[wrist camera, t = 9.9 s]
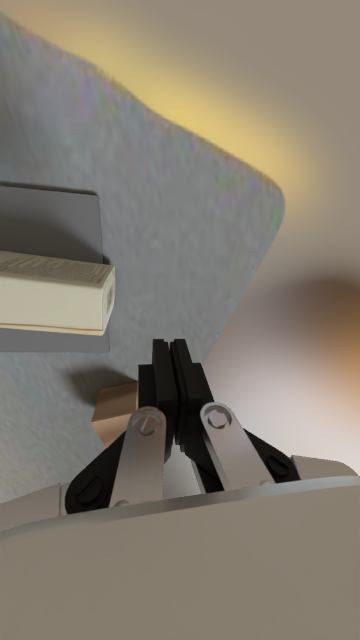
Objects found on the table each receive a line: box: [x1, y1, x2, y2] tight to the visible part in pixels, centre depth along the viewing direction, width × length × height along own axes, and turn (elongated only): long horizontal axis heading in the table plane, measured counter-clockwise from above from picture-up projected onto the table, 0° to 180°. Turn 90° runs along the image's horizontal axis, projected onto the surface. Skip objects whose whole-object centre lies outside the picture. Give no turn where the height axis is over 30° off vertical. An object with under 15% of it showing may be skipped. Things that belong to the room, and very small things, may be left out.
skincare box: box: [0, 251, 115, 336], centre depth 18 cm, size 6×4×12 cm
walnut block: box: [91, 381, 138, 448], centre depth 28 cm, size 5×5×5 cm
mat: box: [0, 186, 110, 353], centre depth 21 cm, size 16×13×1 cm
